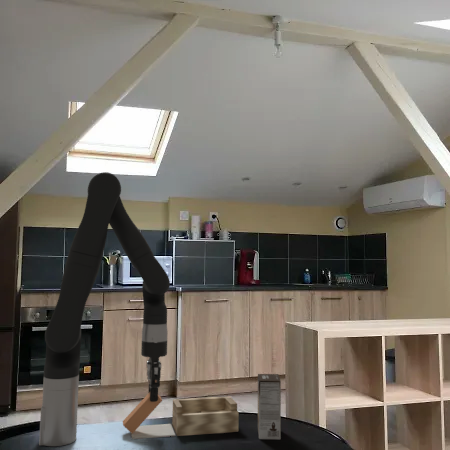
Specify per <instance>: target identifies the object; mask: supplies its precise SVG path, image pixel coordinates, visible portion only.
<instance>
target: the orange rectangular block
mask: <svg viewBox="0 0 450 450" xmlns="http://www.w3.org/2000/svg"><path fill="white" fill-rule="evenodd" d="M148 392H149V391H148ZM162 402H163V399H162V396H161V395H159V394H158V401H156V402H151V401H150V392H149V393H147V394H146V395H145V396H144V398H142V400H140V402H139V403H138V404H137V405H136V406H135V408H133V410H132V411H131V412H129V414H128V415H127V416H126V417H125V418H124V419H123V420H122V425H123V427H124V428H125V429H126V430H127V431H128V432H130V434H131V433H133V432H134V431H135V430H136V429H137V428H138V427H139V426H142V423H143V422H145V420H146V419H147V418H148V417H149V416H150V415H151V414H152V413H153V411H155V409H156V408H157V407H158V406H159V405H160V404H161V403H162Z"/></svg>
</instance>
